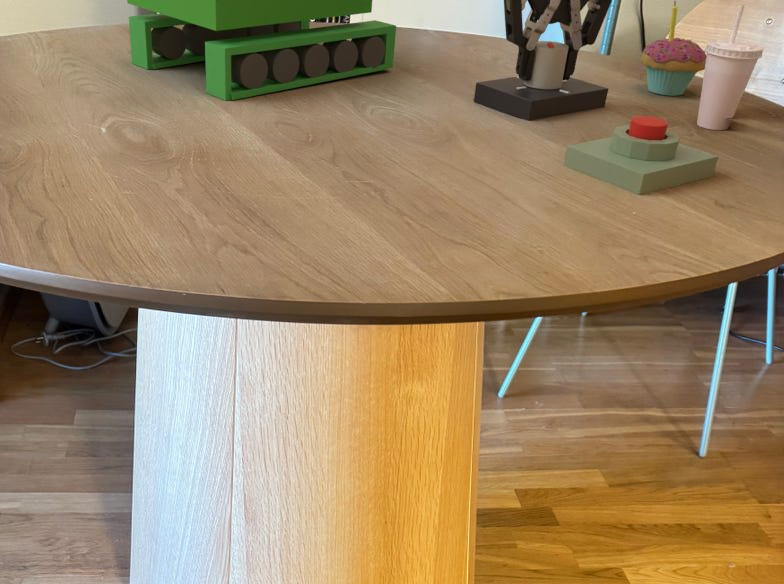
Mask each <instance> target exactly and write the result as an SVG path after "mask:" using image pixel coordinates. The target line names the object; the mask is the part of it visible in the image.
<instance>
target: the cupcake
mask: <svg viewBox="0 0 784 584" xmlns="http://www.w3.org/2000/svg"><path fill="white" fill-rule="evenodd" d="M676 4H677V1H676V0H673V6H672V8H671V15H670V24H669V31H668V32H669V33H668V38H666V37H664V38H662V39H658V40H657V39H656V40H654V41H653V42H651V43H649V44H647V46H646V47H645V46H644V49H643V50H642V53H641V58H640V63H641V64H642V65H643V66H645V71H646V77H647V78H646V79H647V90H648V91H649V92H651V93H653V94H656V95H661V96H669V97H670V96H671V97H677V96H681V95H684V93H685V91H686V89H687V88H688V86H689V85H690V83H691V82H692V80H693V79H694V77H695V75H697V73H699V72H701V71H705V63H706V57H707V52H706V51H705V50H704V49H702V48H701V46H700V45H699V44H698V43H696V42H694V41H693V40H691V39H685V38H679V37H675V30H676V24H677V23H676V22H677V15H678V8H679V7H678V6H677V5H676Z"/></svg>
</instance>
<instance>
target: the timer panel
mask: <svg viewBox="0 0 784 584" xmlns="http://www.w3.org/2000/svg"><path fill="white" fill-rule="evenodd" d="M608 93H609V88H608V87H605V86H601V85H598V84H595V83H592V82H587V81H584V80H581V79H578V78H574V77H571V76H570V78H569V80H562V86H561V88H558V89H551V90H547V89H537V88H532V87H529V86H526V85H525V84H524V80H522V79H520V78H519V76H518V75H517V76H513V77H512V76H511V77H505V78H497V79H491V80H484V81H476V83H475V89H474V96H473V102H474V103H477V104H479V105H482V106H485V107H488V108H489V109H493V110H496V111H499V112H501V113H505V114H507V115H510V116H513V117H516V118H519V119H521V120H525V121H528V122H530V121H536V120H542V119H547V118H552V117H553V118H554V117H557V116H564V115H569V114H576V113H581V112H586V111H587V112H588V111H592V110H597V109H603V108H605V107H606V102H607V98H608Z"/></svg>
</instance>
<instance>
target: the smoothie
mask: <svg viewBox="0 0 784 584" xmlns="http://www.w3.org/2000/svg"><path fill="white" fill-rule="evenodd" d="M744 9H745V4H739V5H738V9H737V13H736V15H735V19H734V24H733V27H732V31H731V34H730V37H729V39H711V40H709V41H707V42H706V45H705V49H704V51H705V53H706V56H707V57H706V63H705V69H704V70H703V78H702V84H701V93H700V98H699V106H698V114H697V119H696V125H697V126H698V127H700V128H703V129H707V130H712V131H713V130H714V131H725V130H728V129H729V127H730V125H731V123H732V121H733V120H732V119H731V118H734V116H735V113H736V112H737V109H738V106H739V104H740V103H741V99H742V97H743V95H744V93H745V91H746V88H747V86H748V83H749V81H750V79H751V76H752V74H753V72H754V70H755V68H756V66H757V63H758V60H759V59H761V58H762V57H763V53H764V50H765V49H764V47H763V46H761V45H759V44H757V43H753V42H749V41H742V40H737V39H736V37H737V34H738V30H739V27H740V23H741V20H742V16H743V13H744Z"/></svg>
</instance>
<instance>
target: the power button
mask: <svg viewBox="0 0 784 584" xmlns="http://www.w3.org/2000/svg"><path fill="white" fill-rule="evenodd" d="M629 125H630V128H629V132H628V135H630V136H633V137H635V138H639V139H645V140H664V137H665V133H666V130H668V125H669V123H668V122H667V121H666V120H664V119H662V118H658V117H653V116H647V115H646V116H645V115H642V116H641V115H639V116H634V117H632V118H631V120H630V124H629Z"/></svg>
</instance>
